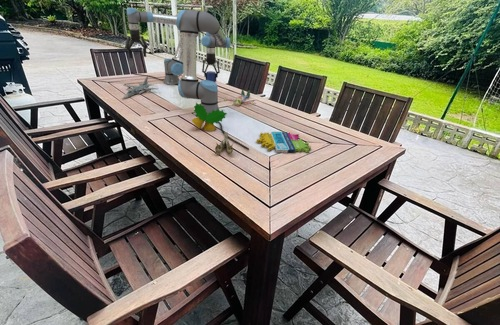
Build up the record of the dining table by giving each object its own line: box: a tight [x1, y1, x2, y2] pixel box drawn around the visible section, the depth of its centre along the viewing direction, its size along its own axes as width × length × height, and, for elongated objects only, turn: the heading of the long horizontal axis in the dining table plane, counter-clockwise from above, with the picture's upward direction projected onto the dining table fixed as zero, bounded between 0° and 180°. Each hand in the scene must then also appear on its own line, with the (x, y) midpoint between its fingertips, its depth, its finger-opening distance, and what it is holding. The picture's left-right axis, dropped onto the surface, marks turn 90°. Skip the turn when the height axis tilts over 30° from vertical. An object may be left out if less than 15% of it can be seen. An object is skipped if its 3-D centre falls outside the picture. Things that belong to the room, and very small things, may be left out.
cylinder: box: [206, 70, 216, 83], centre depth 226 cm, size 8×8×9 cm
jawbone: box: [214, 131, 234, 156], centre depth 136 cm, size 9×15×10 cm
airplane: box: [121, 75, 158, 100], centre depth 222 cm, size 38×32×10 cm
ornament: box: [191, 102, 228, 132], centre depth 162 cm, size 21×8×15 cm, turn 105°
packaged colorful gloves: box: [256, 131, 312, 154], centre depth 152 cm, size 26×2×30 cm
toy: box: [223, 89, 257, 106], centre depth 219 cm, size 28×7×30 cm
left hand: (138, 57), depth 224 cm, fingers open, 13 cm apart
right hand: (211, 81), depth 228 cm, fingers closed on cylinder, 8 cm apart
